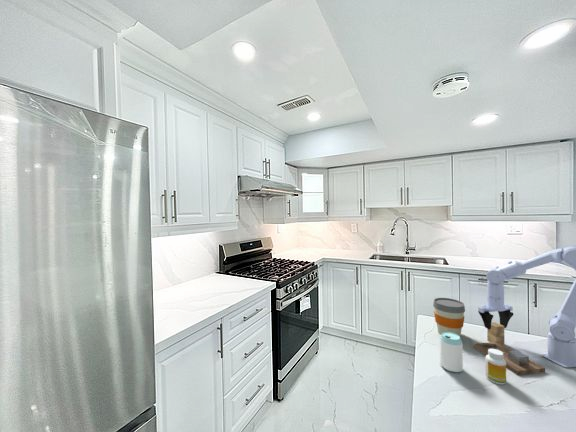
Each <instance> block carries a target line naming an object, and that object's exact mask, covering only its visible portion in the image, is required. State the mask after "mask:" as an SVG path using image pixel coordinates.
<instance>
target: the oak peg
mask: <svg viewBox="0 0 576 432" xmlns="http://www.w3.org/2000/svg"><path fill="white" fill-rule="evenodd" d="M486 330H487V332H486V334H487V335H486V336H487V341H488V343H489V342H498V343H500V344H502V345H504V346H505V328H504V326H503V325H500V323H498V322H496V321H495V322H494V321H493V322H492V321H491V329H487V328H486Z"/></svg>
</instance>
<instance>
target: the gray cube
mask: <svg viewBox="0 0 576 432" xmlns="http://www.w3.org/2000/svg"><path fill="white" fill-rule="evenodd" d="M508 359H509V360H510V361H512V362H514V363H515V364H517V365H519V366H521V365H529V360H530V356H529V355H527V354H525V353H523V352H521V351H519V350H513V351H508Z"/></svg>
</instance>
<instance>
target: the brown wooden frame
mask: <svg viewBox="0 0 576 432" xmlns="http://www.w3.org/2000/svg"><path fill="white" fill-rule="evenodd" d="M473 348H474V349H476V350H477V351H479V352H480V353H482V354H483V355H485V356H486V355H488V349H492V348H495V349H496V350H499V351H501V352H502V353H503V359H504V360H505V361H506V370H508V371H510V372H512V373H514V374H515V375H516V376H521V375H532V374H542V373H546V368H545V367H543V366H542V365H540V364H539V363H538V362H537V363H536V362H535V361H533V360H531V359H529V365H521V366H519V365H517V364H515V363H514V362H512V361H510V360H509V359H508V351H514V350H513V349H511V348H510V347H507V346H506V345H505V344H504V345H502V344H500V343H498V342H489V341H488V342H480V343H479V342H478V343H473Z"/></svg>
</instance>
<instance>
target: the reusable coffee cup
mask: <svg viewBox="0 0 576 432" xmlns="http://www.w3.org/2000/svg"><path fill="white" fill-rule="evenodd" d="M432 304H433V308H434V311H433V314H434V321H435V323H436V328H437V333H438V334H439V335H440V336H441V335H442V333H443V332H451V333H454V334H457V335H458V336H459V337H460V338H461V335H462V328H463V327H464V323H465V312H466V307H465V304H464V302H462V301H460V300H458V299H454V298H450V297H449V298H448V297H436V298H434V299H433V303H432Z"/></svg>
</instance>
